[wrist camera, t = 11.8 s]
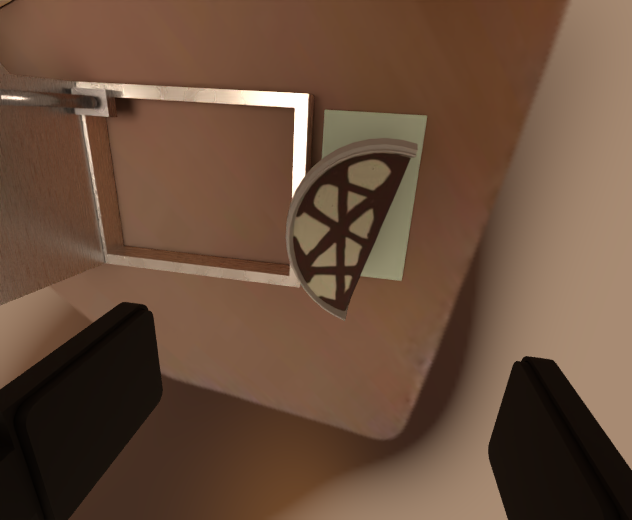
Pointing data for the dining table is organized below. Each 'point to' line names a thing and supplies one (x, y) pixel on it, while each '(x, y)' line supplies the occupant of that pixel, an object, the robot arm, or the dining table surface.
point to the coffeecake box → (4, 2)
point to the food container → (343, 216)
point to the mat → (396, 225)
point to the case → (98, 182)
